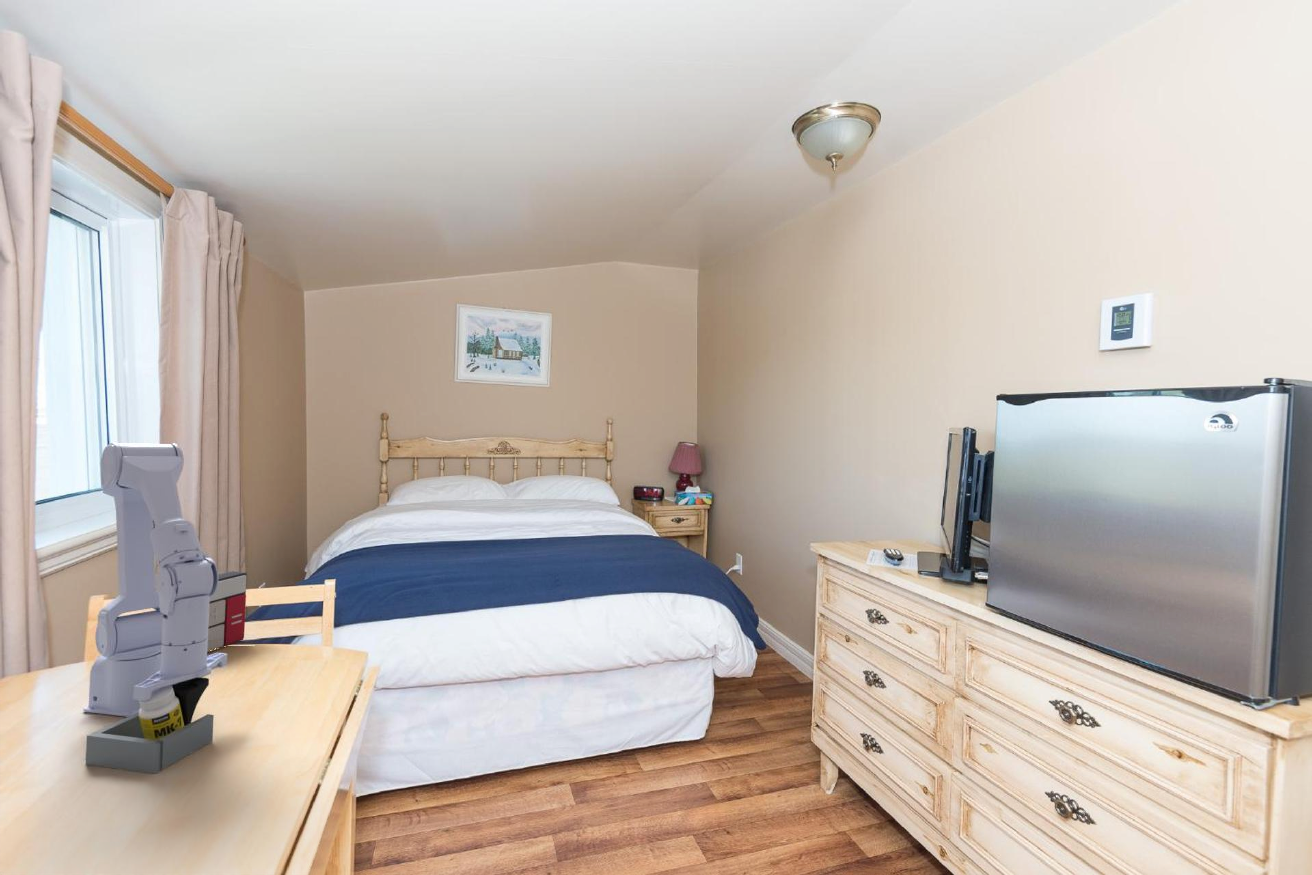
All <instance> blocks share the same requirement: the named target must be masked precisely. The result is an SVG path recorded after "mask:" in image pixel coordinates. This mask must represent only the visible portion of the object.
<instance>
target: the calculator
mask: <svg viewBox="0 0 1312 875" xmlns="http://www.w3.org/2000/svg"><path fill="white" fill-rule="evenodd" d="M247 577H248V576H247V572H242V571H233V570H232V571H228V572H224V573H220V574H219V573H218V587H217V590H216V592H215V593H214V594H213V595H208V596H209V597H210V602H209V625H208V646H207V652H208V651H210V650H214V649H215V648H216V649H217V648H220V649H223V648H225V647H228V646H231V645H232V644H236V643H238V642H241V641H243V640H244V638H245V626H246V625H245V624H246V620H245V619H246V608H247V607H246V606H247V605H246V603H247V593H246V591H247ZM217 650H218V649H217ZM214 651H215V650H214Z"/></svg>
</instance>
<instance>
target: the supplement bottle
mask: <svg viewBox="0 0 1312 875" xmlns="http://www.w3.org/2000/svg"><path fill="white" fill-rule="evenodd" d="M139 703H140V707H141V708H140V710H139V719H140V723H141V727H142V732H143V736H144V739H151V740H158V739H160V738H162V737H164V736H166V735H168V734H170V733H172V732H174V731H176V730H178V729H180V728H182V727H184V722H183V717H182V712H181V708H180V703H179V699H178V698H177V697H176V696H175V693H174V690H173V687H172V686H170V685H168V686H165V687H164V688H163V689H161V690H160V691H158V692H157V693H156V694H155V695H153V696H151V699H149V700H146V701H142V700H139Z"/></svg>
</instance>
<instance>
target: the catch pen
mask: <svg viewBox="0 0 1312 875" xmlns="http://www.w3.org/2000/svg"><path fill="white" fill-rule="evenodd" d="M214 715H215V714H210V713H209V714H208V713H207V714H205V715H204V716H202V717H199V718H197V719H196V720H194V721H191V723H190V724H188V725H186V726H184V727H182V728H180V729H178V730H176V731H174V732H172V733H170V734H168V735H166V736H164V737H162V738H160V739H158V740H151V739H144V736H143V732H142V727H141V723H140V719H139V712H138V713H136V714H134V715H131V716H129V717H125V718H123V719H120V720H119V721H115V722H114V723H111V724H109V725H107V726H105V727H103V728H100V729H98V730H96V731H94V732H92V733H90V734H87V735H86V746H85V747H86V748H85V765H88V766H89V765H90V766H97V767H103V768H104V767H105V768H109V769H110V768H111V769H118V770H124V771H132V772H133V771H134V772H142V773H148V774H154V775H155V774H157V773H159V772H161V771H163V770H164V769H166V768H168V767H170V766H171V765H173V764H175V763H177V762H179V761H180V760H182V759H184V758H185V757H187V756H189V755H190V754H193V753H194V752H196V751H198V750H200V749H201V748H203V747H205V746H206V745H208V744H210V743H212V742H213V740H214V739H213V737H214V736H213V734H214Z"/></svg>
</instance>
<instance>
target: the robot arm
mask: <svg viewBox="0 0 1312 875" xmlns="http://www.w3.org/2000/svg"><path fill="white" fill-rule="evenodd" d="M184 457H185V456H184V454H183V450H182V449H181V447H180V446H179V445H178V444H176V443H168V444H167V443H166V444H165V443H164V444H163V443H117V442H110V443H109V444H108V445H107V446H105V447H104V449H103V451H102V454H101V458H100V483H101V487H102V493H103V494H105V495H107V496H110V497H112V498H113V500H114V505H115V506H114V507H115V514H116V515H115V517H116V518H115V520H116V523H115V524H116V542H117V543H116V546H117V568H118V569H117V572H118V596H116V597H115V598H114V599H113V600H111V601H110V602H108V604H106V605H105V606H104V607H102V608H101V610H100V611H98V615H97V626H96V627H95V628H96V629H95V633H94V634H95V635H94V636H95V639H94V640H95V646H96V649H97V651H98V652H97V653H99V656H98V657H96V659H95V661H94V662H93V664H92V665H91V669H90V672H89V687H88V689H89V691H88V692H89V693H88V706H85V707H84V708H82V710H83V712H85V713H95V714H100V715H101V714H102V715H103V714H104V715H109V716H118V717H125V718H127V717H129V716H131V715H134V714H136V713H138V712H139V710H140V708H141V707H140V703H139V700H142V701H146V700H149V699H151V696H153V695H155V694H156V693H157V692H158V691H160V690H161V689H163V688H164V687H165V686H168V685H170V686H172V687H173V690H174V693H175V696H176V697H177V698H178V699H179V703H180V708H181V712H182V717H183V722H184V726H186V725H188V724H190V723H192V719H193V716H194V714H195V711H196V708H197V705H198V704H199V702H200V700H201V698H202V696H203V694H204V692H205V690H207V688H208V686H209V685H210V679H209V678H207V677H206V676H209V675H212V670H215V669H217V668H223V667H226V666H227V665H228V653H224V652H215V653H212V654H209V655H208V653H207V646H208V625H209V602H210V597H209V596H208V595H213V594H214V593H215V592H216V590H217V587H218V575H219V570H218V568H217V563H216V562H215V560H214V559H212V558H211V557H210V556H209V554H208V553H207V552H205V553H204V552H203V549H202V546H201V544H200V540H199V538H198V537H199V536H198V534H197V531H196V527H195V525H194V523H193V522H192V521H189V520H188V519H185V518H184V517H183V512H182V507H181V502H180V501H181V500H180V496H179V492H178V487H177V483H178V482H179V480H180V478H181V475H182V472H183V470H184V464H185V463H184V462H185V458H184ZM154 525H155V526H154ZM155 559H156V561H155ZM156 562H157V566H158V569H159V572H158V573H157V574H158V575H157V579H156V567H155V566H156V565H155V563H156ZM148 609H149V610H150V609H153V610H150V611H149V610H148ZM145 610H148V611H145ZM138 611H144V612H138ZM131 612H137V613H132V614H131ZM125 613H130V614H126V615H123V614H125Z"/></svg>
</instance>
